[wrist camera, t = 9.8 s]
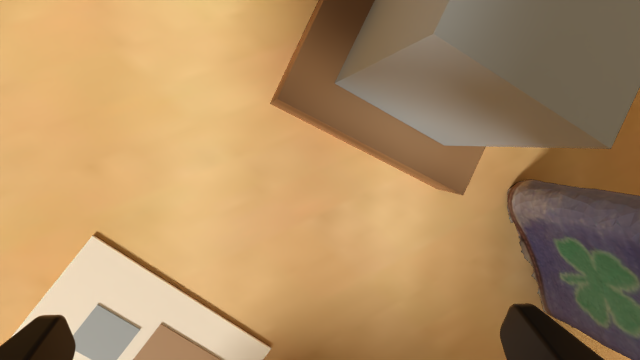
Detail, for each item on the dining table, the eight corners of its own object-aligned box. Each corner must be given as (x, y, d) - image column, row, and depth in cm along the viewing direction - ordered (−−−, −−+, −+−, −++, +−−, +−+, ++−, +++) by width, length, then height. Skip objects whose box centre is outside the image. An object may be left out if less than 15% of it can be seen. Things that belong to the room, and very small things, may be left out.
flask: (497, 190, 23) (725, 232, 13) (539, 168, 24) (788, 191, 13) (546, 326, 25) (780, 459, 15) (583, 302, 25) (835, 415, 15)
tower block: (444, 145, 19) (611, 148, 11) (334, 83, 18) (433, 34, 10) (498, 31, 19) (703, -49, 11) (394, -40, 18) (542, -193, 10)
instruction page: (270, 347, 21) (271, 349, 21) (183, 463, 20) (183, 468, 20) (93, 235, 18) (91, 236, 18) (-11, 364, 18) (-15, 368, 18)
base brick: (432, 187, 23) (463, 194, 20) (268, 104, 20) (277, 98, 17) (507, 25, 23) (549, 9, 20) (355, -79, 20) (377, -115, 17)
